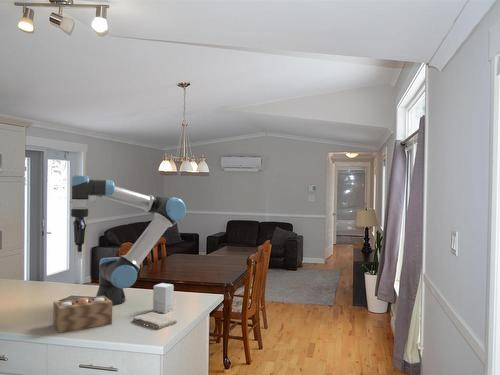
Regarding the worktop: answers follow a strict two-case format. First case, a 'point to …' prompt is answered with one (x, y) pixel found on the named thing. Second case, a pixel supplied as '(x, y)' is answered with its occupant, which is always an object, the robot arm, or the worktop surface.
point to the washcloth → (155, 320)
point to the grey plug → (66, 303)
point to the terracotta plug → (83, 300)
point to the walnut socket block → (82, 314)
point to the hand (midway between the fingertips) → (78, 258)
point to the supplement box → (163, 297)
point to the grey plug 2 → (98, 299)
